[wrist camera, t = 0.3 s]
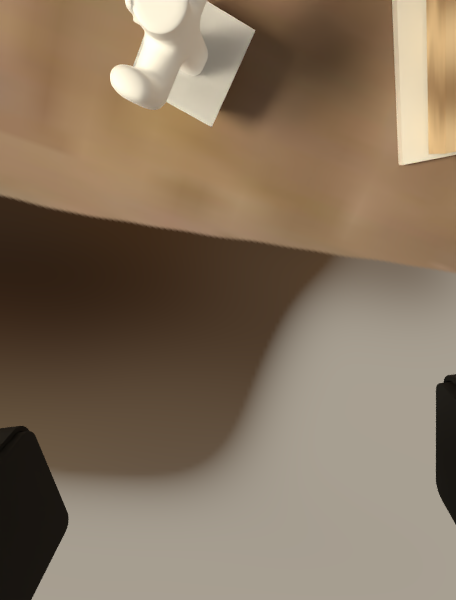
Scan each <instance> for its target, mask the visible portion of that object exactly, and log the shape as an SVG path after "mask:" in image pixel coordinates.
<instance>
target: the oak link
mask: <svg viewBox="0 0 456 600" xmlns="http://www.w3.org/2000/svg"><path fill="white" fill-rule="evenodd" d="M426 19H427V84H428V149H429V154H446V153H451V152H456V0H426Z"/></svg>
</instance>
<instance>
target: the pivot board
mask: <svg viewBox="0 0 456 600" xmlns="http://www.w3.org/2000/svg"><path fill="white" fill-rule="evenodd" d="M392 12H393V37H394V62H395V86H396V111H397V136H398V160H399V165H406V164H411V163H416V162H421V161H426V160H431V159H436V158H441V157H446V156H452V155H456V152H451V153H446V154H429V149H428V84H427V19H426V0H392Z"/></svg>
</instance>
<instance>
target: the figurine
mask: <svg viewBox="0 0 456 600" xmlns="http://www.w3.org/2000/svg"><path fill="white" fill-rule="evenodd" d="M125 3H126V7H127V8H128V10H129V11H130V12H131V13H132V15H133V20H134V22H136V23H138V24H139V25H141V26H142V28H143V29H144V31H145V35H144V38H143V40H142V43H141V46H140V49H139V51H138V54H137V57H136V60H135V62H134V65H133V67H132V66H129V65H125V64H120V65H117V66H115V67H114V68H113V69H112V71H111V74H110V80H111V84H112V86H113V88H114V89H115V90H116V91H117V92H118V93H119V94H120V95H121V96H122V97H124V98H125V99H127V100H129V101H131V102H133V103H135V104H137V105H139V106H141V107H144V108H147V109H151V110H157V109H159V108H161V107H162V106H163V105H164V104H165V102H167V103H169V104H171V105H173V106H175V107H176V108H178V109H180V110H182V111H184V112H185V113H187V114H189V115H191V116H193V117H194V118H196V119H198V120H200V121H201V122H203V123H205V124H207V125H209V126H210V127H212V125H213V123H214V121H215V119H216V116H217V114H218V112H219V110H220V108H221V105H222V103H223V101H224V99H225V97H226V94H227V92H228V90H229V88H230V86H231V83H232V81H233V79H234V77H235V75H236V72H237V70H238V68H239V66H240V64H241V61H242V59H243V57H244V55H245V53H246V50H247V48H248V46H249V44H250V42H251V39H252V37H253V35H254V33H255V31H256V30H254V29H253V28H251V27H249V26H248V25H246V24H244V23H243V22H241V21H239V20H238V19H236V18H234V17H233V16H231V15H229V14H228V13H226V12H224V11H223V10H221V9H219V8H218V7H216V6H214V5H213V4H211V3H209V2H208V1H207V0H125Z"/></svg>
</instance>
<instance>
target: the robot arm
mask: <svg viewBox="0 0 456 600" xmlns="http://www.w3.org/2000/svg"><path fill="white" fill-rule="evenodd" d="M436 484H437V488H438V492H439V495H440V497H441V499H442V501H443V503H444V504H445V506H446V508H447V510H448V511H449V513H450V515H451V517H452V519H453V520H454V522H455V524H456V374H455V375H448V376H446V377H445V379H444V383H439V384H438V385H437V387H436ZM67 526H68V513H67V510H66V508H65V506H64V503H63V501H62V498H61V496H60V494H59V491H58V489H57V486H56V484H55V482H54V479H53V477H52V475H51V472H50V470H49V467H48V465H47V463H46V460H45V458H44V455H43V453H42V451H41V448H40V446H39V444H38V441H37V439H36V437H35V435H34V433H33V432H30V431H29V430H28V429H27V428H26V427H24V426H16V427H8V428H1V429H0V600H31V599H32V597H33V595H34V593H35V591H36V589H37V587H38V585H39V583H40V581H41V579H42V577H43V575H44V573H45V571H46V569H47V567H48V565H49V563H50V561H51V559H52V557H53V555H54V553H55V551H56V549H57V547H58V546H59V544H60V542H61V539H62V537H63V536H64V534H65V532H66V529H67Z"/></svg>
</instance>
